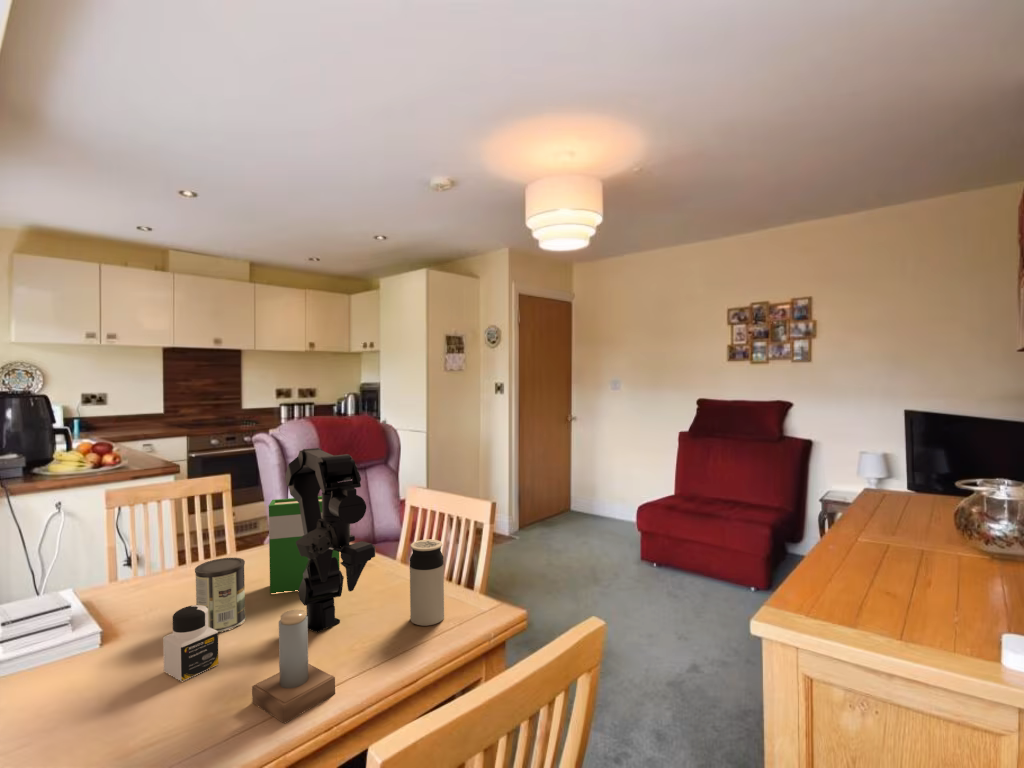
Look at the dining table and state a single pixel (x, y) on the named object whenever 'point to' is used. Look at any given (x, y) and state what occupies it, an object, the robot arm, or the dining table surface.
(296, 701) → the walnut block
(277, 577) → the hardback book
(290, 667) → the spice jar
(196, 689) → the dining table surface
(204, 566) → the coffee can
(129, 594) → the dining table surface
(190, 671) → the medicine bottle
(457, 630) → the dining table surface
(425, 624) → the travel mug
